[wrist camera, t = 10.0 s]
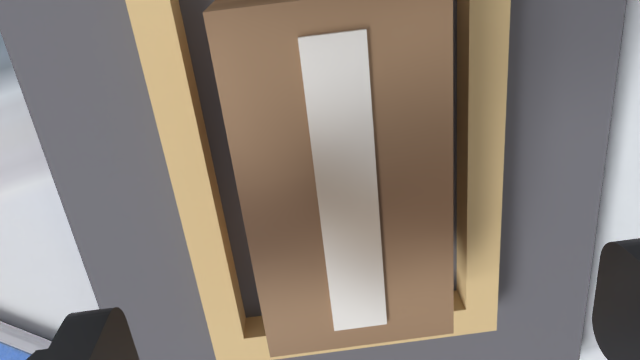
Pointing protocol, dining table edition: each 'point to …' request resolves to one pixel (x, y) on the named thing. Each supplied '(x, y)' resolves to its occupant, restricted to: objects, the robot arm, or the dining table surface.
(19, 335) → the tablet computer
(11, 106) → the dining table surface
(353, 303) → the tan box with stripe
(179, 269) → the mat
